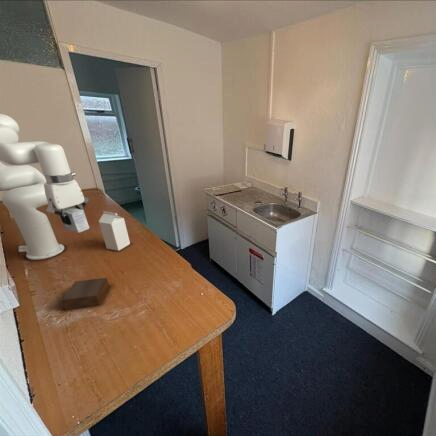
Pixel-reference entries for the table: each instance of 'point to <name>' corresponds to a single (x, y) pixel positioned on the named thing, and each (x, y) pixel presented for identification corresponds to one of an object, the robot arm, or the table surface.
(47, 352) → the table surface
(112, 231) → the milk carton
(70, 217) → the medicine box
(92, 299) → the walnut block
